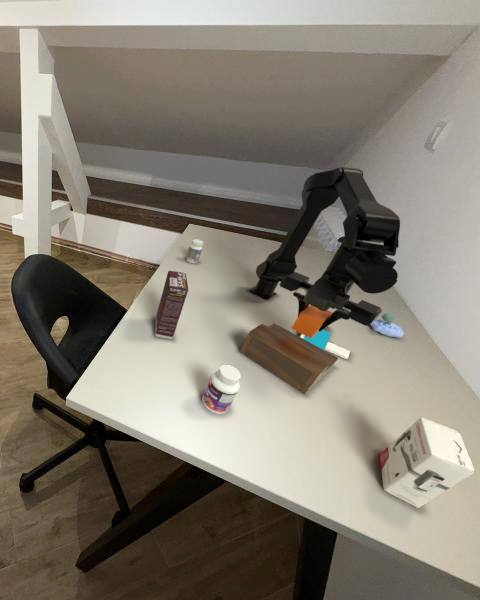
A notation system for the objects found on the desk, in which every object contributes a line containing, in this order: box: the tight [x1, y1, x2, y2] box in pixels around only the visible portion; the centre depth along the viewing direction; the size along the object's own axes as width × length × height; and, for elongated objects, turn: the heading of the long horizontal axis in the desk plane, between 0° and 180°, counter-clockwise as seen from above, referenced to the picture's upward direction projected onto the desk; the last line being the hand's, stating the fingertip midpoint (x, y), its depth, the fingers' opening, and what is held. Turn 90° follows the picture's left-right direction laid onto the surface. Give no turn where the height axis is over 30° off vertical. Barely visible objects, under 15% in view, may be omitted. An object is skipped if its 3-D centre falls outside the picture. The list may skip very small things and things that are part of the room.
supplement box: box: [154, 270, 189, 340], centre depth 81 cm, size 9×5×16 cm, turn 168°
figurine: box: [369, 312, 405, 339], centre depth 91 cm, size 8×7×7 cm
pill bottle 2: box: [201, 364, 242, 415], centre depth 63 cm, size 5×5×10 cm
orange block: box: [291, 305, 334, 338], centre depth 75 cm, size 7×4×5 cm, turn 126°
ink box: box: [379, 416, 475, 509], centre depth 52 cm, size 9×5×12 cm, turn 145°
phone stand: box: [296, 326, 351, 360], centre depth 84 cm, size 20×12×2 cm, turn 136°
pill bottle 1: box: [185, 238, 204, 264], centre depth 121 cm, size 5×5×8 cm
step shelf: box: [239, 323, 339, 395], centre depth 77 cm, size 16×16×7 cm
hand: (309, 325), depth 76 cm, fingers closed on orange block, 4 cm apart
